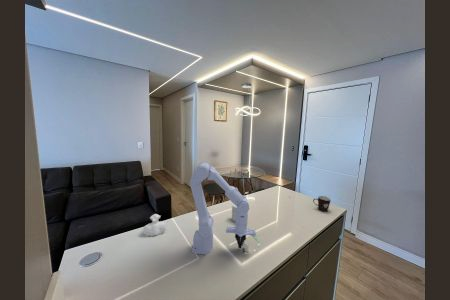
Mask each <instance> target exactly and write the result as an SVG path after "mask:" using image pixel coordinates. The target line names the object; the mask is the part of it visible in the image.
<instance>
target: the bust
mask: <svg viewBox="0 0 450 300" xmlns="http://www.w3.org/2000/svg"><path fill="white" fill-rule="evenodd" d="M161 216H162V215H159V214H157V213H154V214H152V215H151V216H150V217H149V219H150V220H151V221H152V222H151V223H148V224H146V225H144V227H143V232H144V235H145V236H148V237H153V236H160V235H161V234H163V233H165V232H166V230H167V225H168V224H167V223H166V222H163V221H159V219H161Z"/></svg>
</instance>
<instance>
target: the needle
mask: <svg viewBox="0 0 450 300" xmlns="http://www.w3.org/2000/svg"><path fill="white" fill-rule="evenodd" d="M240 241H241V236H240ZM242 247H243V250H244V252H248V253H249V249H250V248H249V247H250V244H249V243H248V240H247V238H246V239H245V241H244V242H243V244H242Z"/></svg>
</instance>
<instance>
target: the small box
mask: <svg viewBox="0 0 450 300" xmlns="http://www.w3.org/2000/svg"><path fill="white" fill-rule="evenodd" d="M236 212H237V206H236V205H235V204H233V205H232V206H231V220H232V221H233V222H235V223H236Z"/></svg>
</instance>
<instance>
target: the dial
mask: <svg viewBox="0 0 450 300" xmlns="http://www.w3.org/2000/svg"><path fill="white" fill-rule="evenodd" d="M252 237H253V238H255V241H256V242H257V247H261V246H260V240H259V238H258V237H257V236H256V237H254V236H252ZM257 251H258V250H257V249H253V250H252V252H253V253H256V252H257ZM243 255H249V251H248V252H245V251H244V252H243Z"/></svg>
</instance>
